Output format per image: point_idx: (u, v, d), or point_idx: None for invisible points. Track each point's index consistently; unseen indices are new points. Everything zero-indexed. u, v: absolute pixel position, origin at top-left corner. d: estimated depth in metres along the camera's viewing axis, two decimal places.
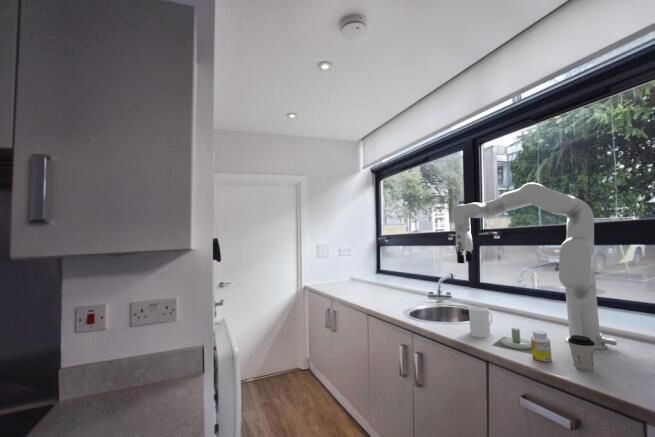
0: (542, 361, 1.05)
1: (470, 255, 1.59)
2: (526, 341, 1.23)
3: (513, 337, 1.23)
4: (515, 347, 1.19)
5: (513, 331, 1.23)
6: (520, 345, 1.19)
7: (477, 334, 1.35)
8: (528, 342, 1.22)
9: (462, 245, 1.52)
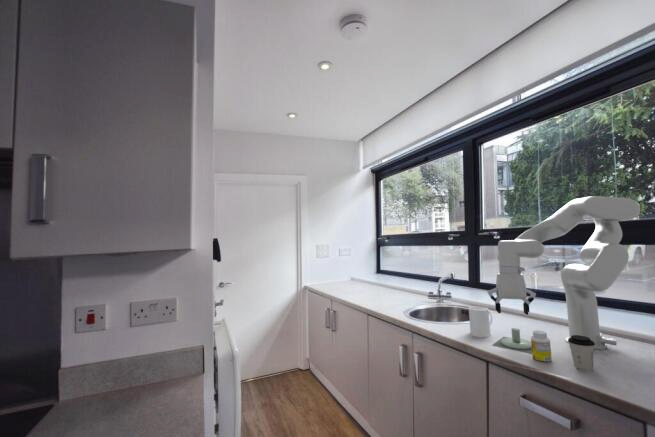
0: (542, 361, 1.05)
1: None
2: (526, 341, 1.23)
3: (513, 337, 1.23)
4: (515, 347, 1.19)
5: (513, 331, 1.23)
6: (520, 345, 1.19)
7: (477, 334, 1.35)
8: (528, 342, 1.22)
9: None
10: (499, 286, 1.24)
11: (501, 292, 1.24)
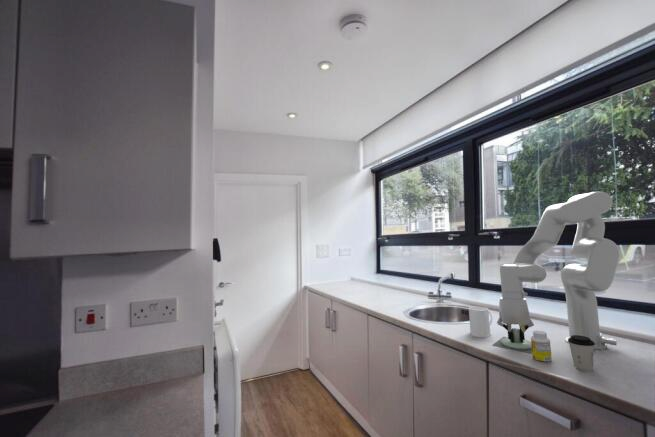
0: (542, 361, 1.05)
1: None
2: (526, 341, 1.23)
3: (513, 337, 1.23)
4: (515, 347, 1.19)
5: (513, 331, 1.23)
6: (520, 345, 1.19)
7: (477, 334, 1.35)
8: (528, 342, 1.22)
9: None
10: (502, 311, 1.23)
11: (504, 317, 1.23)
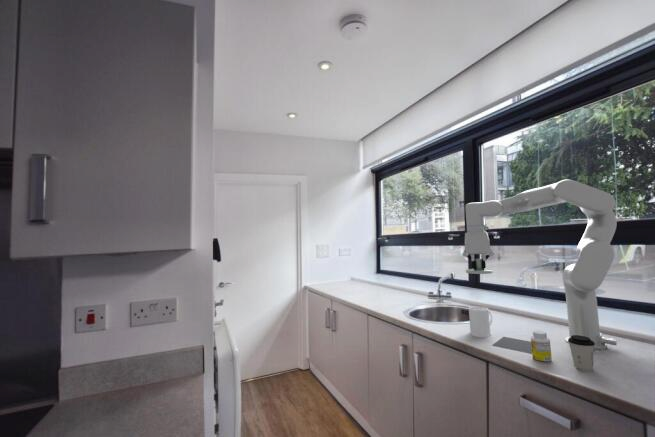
0: (542, 361, 1.05)
1: None
2: (487, 269, 1.40)
3: (476, 266, 1.39)
4: (477, 272, 1.35)
5: (476, 260, 1.39)
6: (481, 271, 1.36)
7: (477, 334, 1.35)
8: (489, 270, 1.38)
9: None
10: (466, 243, 1.40)
11: (468, 248, 1.39)
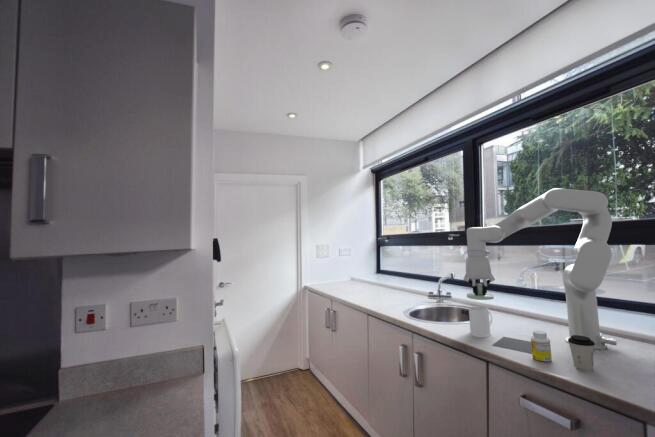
0: (542, 361, 1.05)
1: None
2: (488, 294, 1.39)
3: (477, 291, 1.39)
4: (478, 298, 1.35)
5: (477, 285, 1.39)
6: (482, 296, 1.35)
7: (477, 334, 1.35)
8: (490, 295, 1.38)
9: None
10: (467, 268, 1.39)
11: (469, 273, 1.39)
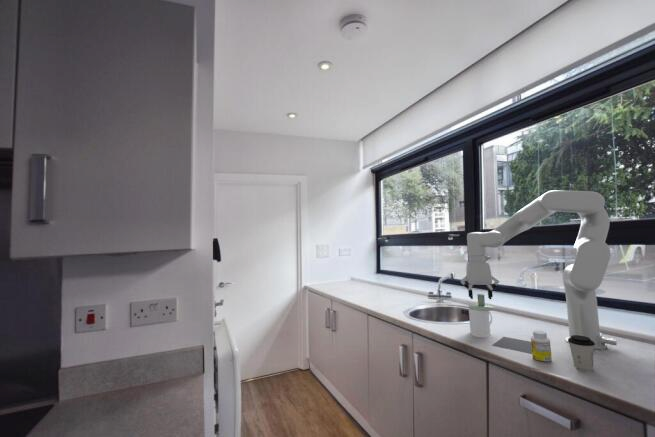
0: (542, 361, 1.05)
1: None
2: (490, 305, 1.39)
3: (478, 301, 1.39)
4: (479, 309, 1.34)
5: (478, 296, 1.39)
6: (484, 307, 1.35)
7: (477, 334, 1.35)
8: (491, 305, 1.38)
9: None
10: (468, 273, 1.39)
11: (470, 278, 1.39)
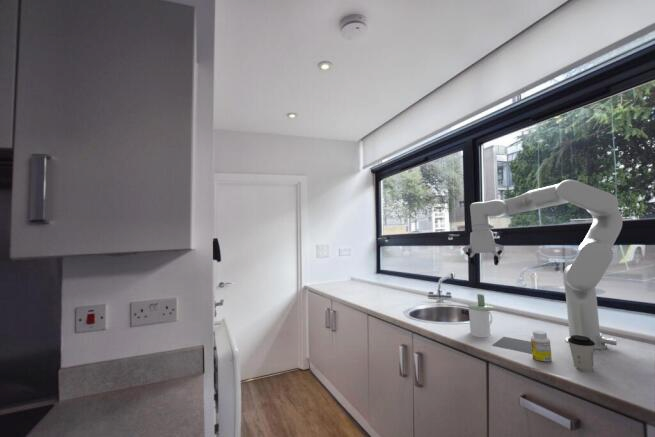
0: (542, 361, 1.05)
1: None
2: (490, 305, 1.39)
3: (478, 301, 1.39)
4: (479, 309, 1.34)
5: (478, 296, 1.39)
6: (484, 307, 1.35)
7: (477, 334, 1.35)
8: (491, 305, 1.38)
9: None
10: (472, 242, 1.42)
11: (474, 247, 1.42)
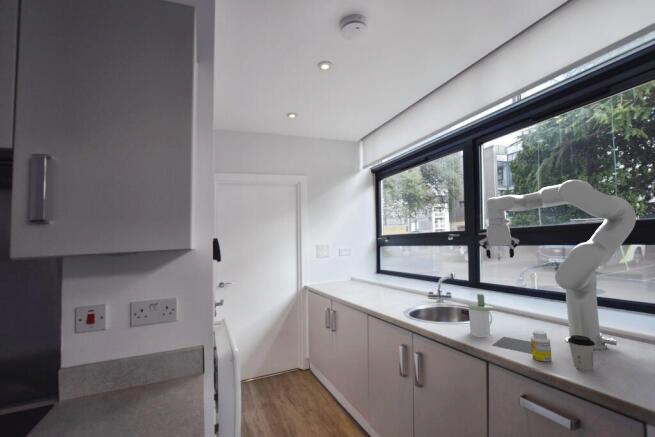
0: (542, 361, 1.05)
1: None
2: (490, 305, 1.39)
3: (478, 301, 1.39)
4: (479, 309, 1.34)
5: (478, 296, 1.38)
6: (484, 307, 1.35)
7: (477, 334, 1.35)
8: (491, 305, 1.38)
9: None
10: (489, 236, 1.49)
11: (490, 240, 1.48)
